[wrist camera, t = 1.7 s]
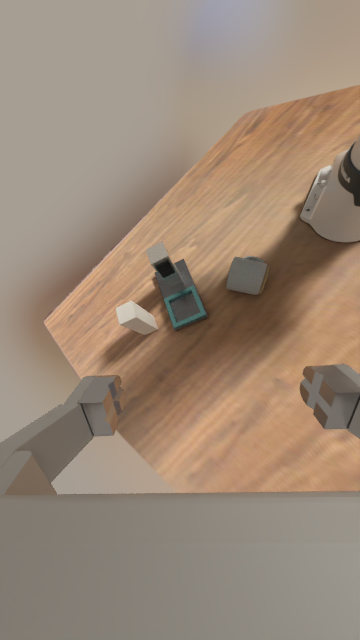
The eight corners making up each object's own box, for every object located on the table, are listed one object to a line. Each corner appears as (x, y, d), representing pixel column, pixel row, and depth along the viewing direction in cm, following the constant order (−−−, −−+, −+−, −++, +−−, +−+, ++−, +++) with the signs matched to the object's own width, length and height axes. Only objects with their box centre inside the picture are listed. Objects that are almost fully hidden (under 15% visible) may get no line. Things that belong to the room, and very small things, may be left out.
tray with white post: (156, 275, 55) (133, 246, 42) (184, 261, 53) (169, 227, 41) (176, 331, 49) (155, 316, 36) (208, 317, 47) (199, 297, 35)
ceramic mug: (260, 301, 45) (265, 286, 38) (226, 294, 48) (224, 279, 41) (270, 262, 47) (277, 241, 40) (237, 257, 50) (237, 237, 43)
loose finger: (140, 320, 52) (115, 306, 41) (153, 315, 52) (131, 299, 41) (144, 335, 51) (119, 324, 40) (158, 329, 50) (136, 317, 39)
